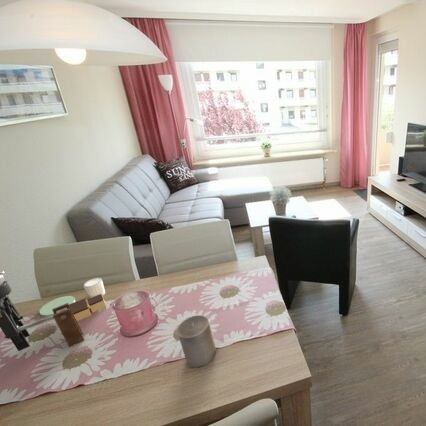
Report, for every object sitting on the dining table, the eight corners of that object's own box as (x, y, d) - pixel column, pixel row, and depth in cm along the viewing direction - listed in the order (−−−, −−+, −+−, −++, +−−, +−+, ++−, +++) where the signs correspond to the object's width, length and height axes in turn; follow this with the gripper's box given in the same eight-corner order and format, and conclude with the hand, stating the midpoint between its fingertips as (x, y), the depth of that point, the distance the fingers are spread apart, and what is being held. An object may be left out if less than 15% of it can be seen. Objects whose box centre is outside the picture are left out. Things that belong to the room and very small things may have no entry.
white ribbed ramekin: (95, 301, 130) (90, 288, 127) (85, 298, 132) (79, 285, 129) (110, 291, 135) (105, 279, 133) (99, 288, 138) (94, 276, 135)
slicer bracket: (61, 357, 103) (42, 322, 96) (59, 343, 108) (41, 310, 102) (95, 340, 109) (79, 307, 102) (92, 329, 114) (77, 297, 108)
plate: (40, 321, 119) (39, 319, 119) (40, 306, 128) (39, 305, 127) (77, 306, 127) (76, 304, 126) (74, 294, 135) (73, 292, 134)
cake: (68, 327, 115) (62, 317, 113) (66, 317, 121) (61, 307, 119) (92, 317, 120) (87, 307, 118) (89, 307, 126) (85, 298, 124)
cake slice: (93, 314, 122) (88, 304, 119) (91, 308, 125) (87, 299, 123) (107, 308, 125) (103, 299, 122) (105, 303, 128) (101, 293, 126)
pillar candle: (203, 340, 107) (194, 308, 101) (222, 350, 102) (214, 318, 96) (180, 360, 99) (169, 327, 93) (199, 373, 94) (189, 338, 88)
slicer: (12, 339, 93) (9, 333, 92) (13, 330, 97) (10, 324, 96) (69, 318, 102) (67, 312, 101) (68, 310, 106) (66, 304, 105)
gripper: (4, 294, 84) (39, 352, 94) (7, 269, 97) (38, 322, 106) (-34, 308, 80) (7, 367, 89) (-26, 279, 92) (10, 333, 102)
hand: (24, 342), depth 98 cm, fingers closed on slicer, 5 cm apart
